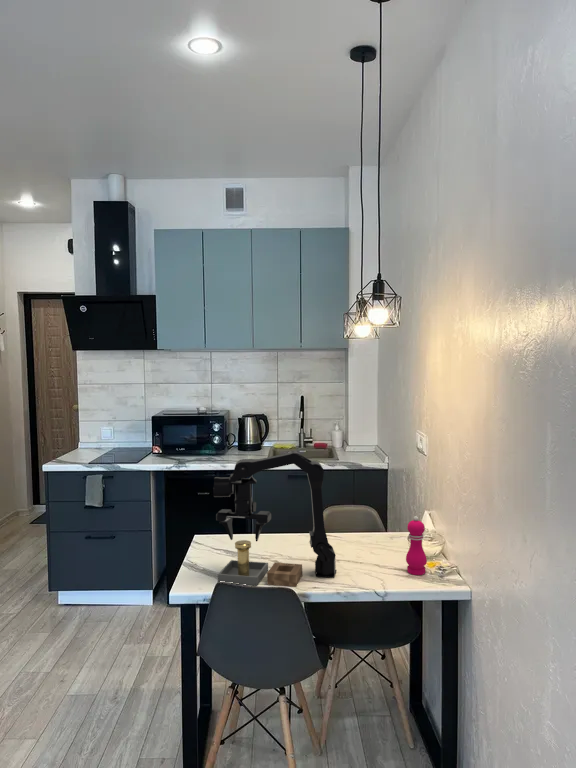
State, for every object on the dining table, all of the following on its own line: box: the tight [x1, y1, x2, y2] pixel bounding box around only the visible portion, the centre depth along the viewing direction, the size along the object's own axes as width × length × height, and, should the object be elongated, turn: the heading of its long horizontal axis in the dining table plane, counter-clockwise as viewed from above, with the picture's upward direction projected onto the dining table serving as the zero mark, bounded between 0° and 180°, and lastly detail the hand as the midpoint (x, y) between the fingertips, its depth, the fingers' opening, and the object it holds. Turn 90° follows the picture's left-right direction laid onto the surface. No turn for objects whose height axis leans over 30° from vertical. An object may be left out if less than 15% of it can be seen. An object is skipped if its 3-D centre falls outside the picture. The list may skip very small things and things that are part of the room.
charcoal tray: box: [217, 559, 269, 587], centre depth 194 cm, size 14×14×3 cm
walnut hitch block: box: [266, 562, 303, 588], centre depth 190 cm, size 10×10×4 cm
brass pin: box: [234, 539, 252, 576], centre depth 193 cm, size 6×6×12 cm
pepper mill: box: [405, 515, 428, 576], centre depth 195 cm, size 7×7×20 cm
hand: (244, 540), depth 193 cm, fingers open, 9 cm apart
